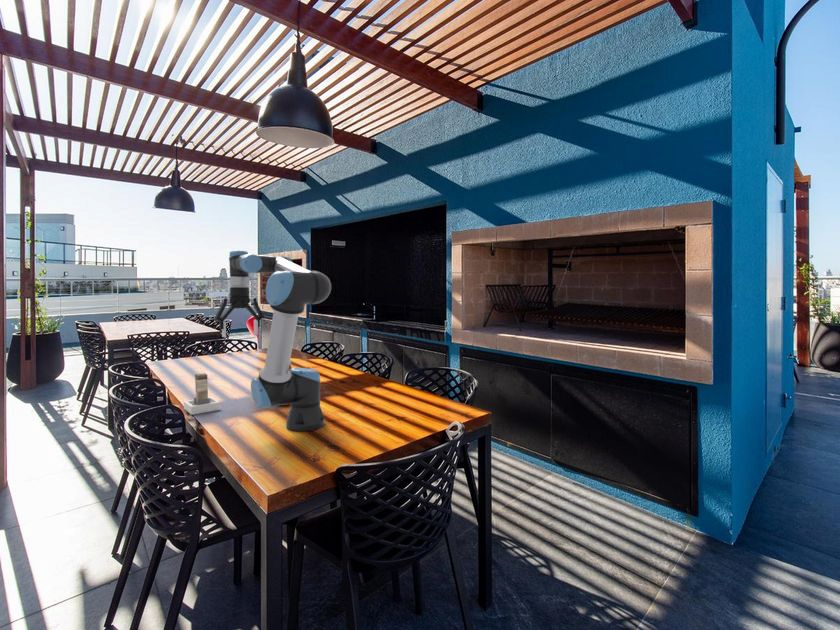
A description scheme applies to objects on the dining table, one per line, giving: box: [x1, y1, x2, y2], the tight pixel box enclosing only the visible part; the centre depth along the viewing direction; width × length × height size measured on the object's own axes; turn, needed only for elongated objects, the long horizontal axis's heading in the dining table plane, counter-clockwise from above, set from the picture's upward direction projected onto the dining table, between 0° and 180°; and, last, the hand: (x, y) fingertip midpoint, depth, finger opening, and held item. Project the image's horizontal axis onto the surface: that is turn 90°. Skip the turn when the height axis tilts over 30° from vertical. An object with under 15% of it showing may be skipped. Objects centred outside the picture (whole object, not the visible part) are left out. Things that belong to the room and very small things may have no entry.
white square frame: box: [183, 396, 221, 416], centre depth 194 cm, size 12×12×5 cm
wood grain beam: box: [194, 373, 209, 405], centre depth 194 cm, size 4×4×14 cm
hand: (240, 335), depth 185 cm, fingers open, 13 cm apart
